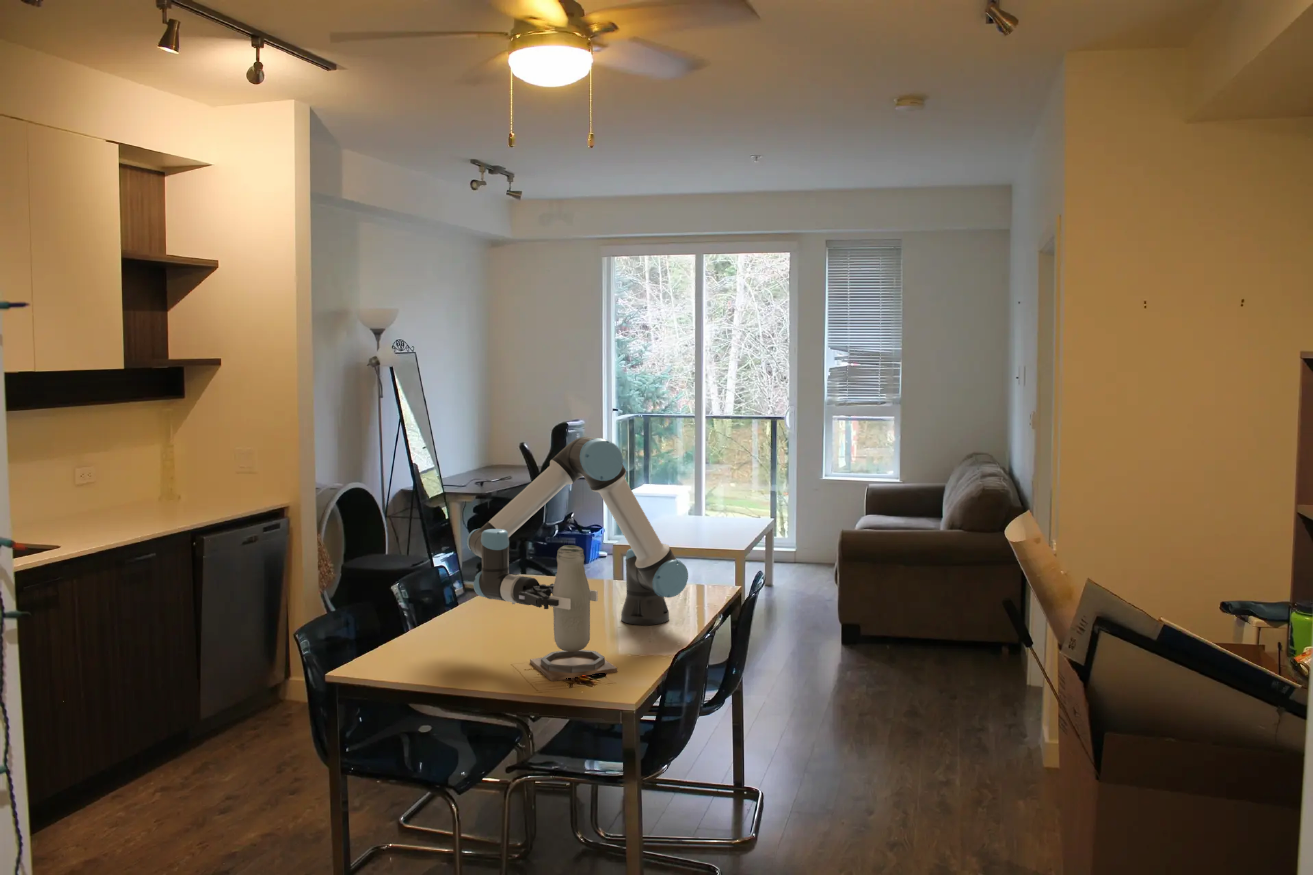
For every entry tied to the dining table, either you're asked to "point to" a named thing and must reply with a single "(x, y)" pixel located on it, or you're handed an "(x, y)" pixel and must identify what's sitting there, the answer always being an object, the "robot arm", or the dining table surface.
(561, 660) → the socket board
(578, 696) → the dining table surface
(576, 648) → the glass bottle
